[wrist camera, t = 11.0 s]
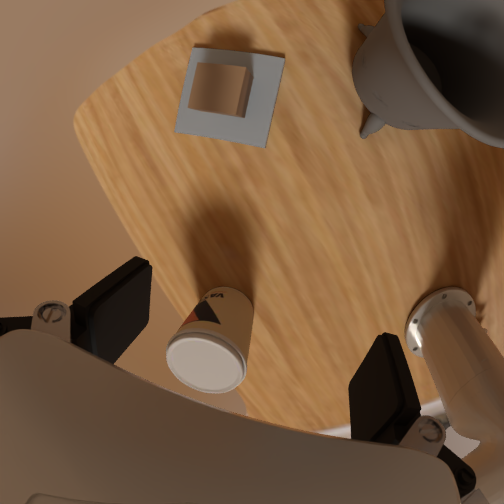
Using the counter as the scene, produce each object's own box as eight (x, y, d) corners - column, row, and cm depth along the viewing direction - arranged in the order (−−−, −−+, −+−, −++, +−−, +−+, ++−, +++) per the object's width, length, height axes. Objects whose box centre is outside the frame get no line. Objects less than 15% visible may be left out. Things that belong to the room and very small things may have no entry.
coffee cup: (227, 268, 38) (200, 320, 27) (273, 316, 40) (263, 377, 29) (183, 303, 42) (148, 355, 31) (226, 345, 43) (205, 403, 32)
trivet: (285, 60, 28) (285, 58, 27) (265, 148, 32) (264, 148, 31) (195, 49, 28) (192, 47, 28) (176, 132, 33) (174, 132, 32)
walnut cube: (253, 77, 28) (246, 67, 24) (244, 118, 30) (235, 114, 26) (211, 72, 29) (197, 62, 24) (202, 111, 31) (187, 107, 26)
